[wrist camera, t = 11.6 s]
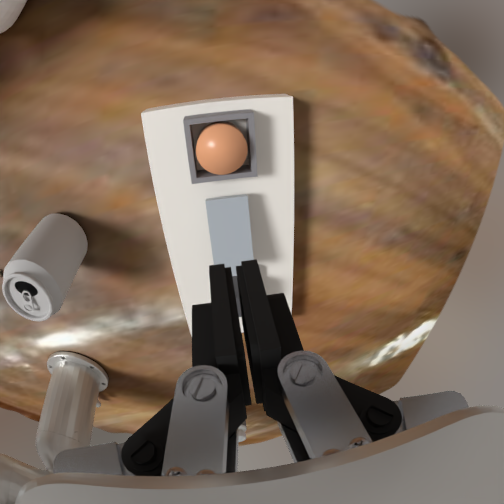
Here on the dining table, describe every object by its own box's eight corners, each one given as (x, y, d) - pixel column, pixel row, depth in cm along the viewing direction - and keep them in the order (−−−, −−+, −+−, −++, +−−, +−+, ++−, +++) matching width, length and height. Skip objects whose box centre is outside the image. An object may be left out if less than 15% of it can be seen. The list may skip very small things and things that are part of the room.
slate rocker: (253, 268, 33) (254, 273, 32) (215, 273, 33) (216, 278, 32) (246, 193, 30) (247, 195, 29) (205, 198, 30) (205, 200, 29)
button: (246, 163, 29) (249, 171, 27) (199, 168, 28) (199, 177, 27) (242, 118, 26) (245, 123, 24) (194, 124, 26) (193, 129, 24)
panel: (286, 310, 46) (294, 337, 41) (192, 322, 45) (192, 350, 40) (285, 93, 29) (299, 99, 24) (146, 108, 28) (135, 117, 23)
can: (89, 213, 33) (50, 276, 23) (91, 264, 37) (63, 333, 27) (36, 207, 31) (-12, 264, 21) (42, 256, 35) (6, 319, 25)
